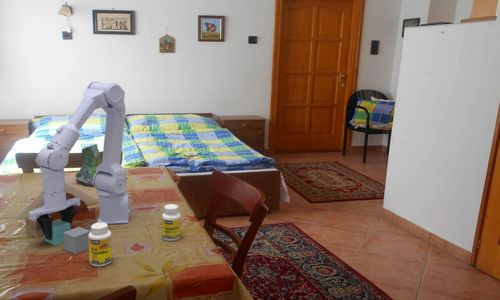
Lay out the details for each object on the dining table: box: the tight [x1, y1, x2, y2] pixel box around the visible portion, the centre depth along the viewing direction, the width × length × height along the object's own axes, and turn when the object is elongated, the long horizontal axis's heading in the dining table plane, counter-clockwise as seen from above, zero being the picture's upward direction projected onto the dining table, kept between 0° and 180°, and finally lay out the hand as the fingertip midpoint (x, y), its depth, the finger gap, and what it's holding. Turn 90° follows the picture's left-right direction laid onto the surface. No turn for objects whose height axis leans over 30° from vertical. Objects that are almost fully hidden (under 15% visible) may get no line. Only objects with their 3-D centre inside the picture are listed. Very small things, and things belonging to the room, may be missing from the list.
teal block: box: [43, 219, 71, 246], centre depth 121 cm, size 5×5×5 cm
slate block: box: [63, 226, 91, 255], centre depth 116 cm, size 5×5×5 cm
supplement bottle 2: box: [161, 203, 182, 242], centre depth 124 cm, size 5×5×10 cm
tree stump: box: [75, 143, 128, 188], centre depth 176 cm, size 18×20×18 cm
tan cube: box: [24, 215, 52, 238], centre depth 125 cm, size 5×5×5 cm
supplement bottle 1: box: [88, 222, 113, 267], centre depth 108 cm, size 6×6×10 cm
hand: (57, 235), depth 121 cm, fingers closed on teal block, 5 cm apart
